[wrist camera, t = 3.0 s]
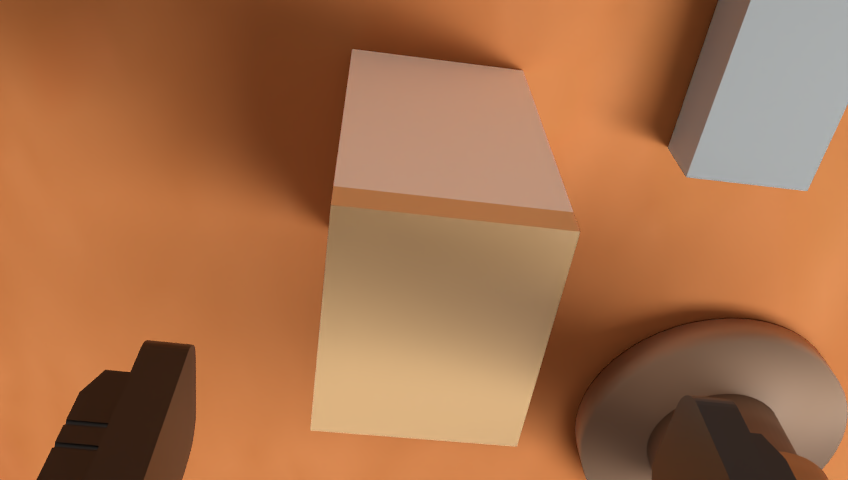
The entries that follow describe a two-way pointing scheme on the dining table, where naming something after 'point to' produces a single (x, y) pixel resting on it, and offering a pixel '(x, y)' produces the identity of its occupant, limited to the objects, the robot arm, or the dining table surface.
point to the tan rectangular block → (439, 253)
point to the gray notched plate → (765, 93)
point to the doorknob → (712, 396)
